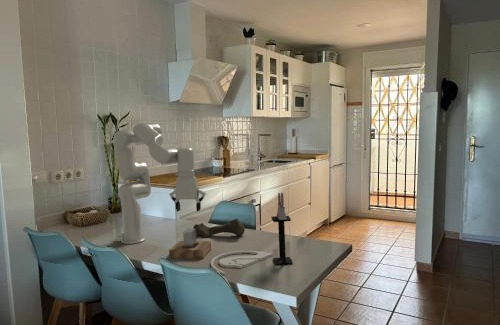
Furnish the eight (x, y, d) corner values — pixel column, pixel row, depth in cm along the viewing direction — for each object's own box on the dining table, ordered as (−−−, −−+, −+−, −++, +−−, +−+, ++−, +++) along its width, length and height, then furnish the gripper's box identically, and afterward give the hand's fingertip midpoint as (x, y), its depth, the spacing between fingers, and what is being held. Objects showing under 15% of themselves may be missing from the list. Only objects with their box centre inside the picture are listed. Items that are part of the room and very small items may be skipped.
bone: (189, 224, 217) (238, 219, 204) (200, 222, 226) (246, 216, 214) (192, 242, 216) (240, 238, 204) (202, 239, 226) (249, 234, 213)
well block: (169, 258, 180) (168, 249, 180) (179, 249, 194) (179, 241, 193) (203, 258, 177) (202, 250, 177) (211, 249, 191) (210, 241, 191)
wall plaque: (273, 253, 177) (223, 272, 156) (273, 257, 177) (223, 276, 156) (244, 246, 190) (194, 263, 169) (244, 249, 190) (194, 266, 169)
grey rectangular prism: (184, 253, 183) (183, 232, 182) (189, 249, 190) (187, 228, 189) (192, 253, 182) (191, 232, 181) (197, 249, 189) (195, 228, 188)
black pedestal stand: (272, 258, 173) (269, 191, 171) (289, 257, 174) (286, 190, 172) (275, 266, 163) (273, 195, 161) (293, 265, 164) (291, 194, 161)
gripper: (165, 176, 181) (167, 212, 182) (202, 175, 178) (203, 212, 179) (171, 174, 188) (173, 209, 190) (206, 173, 185) (208, 209, 187)
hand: (188, 210), depth 185 cm, fingers open, 9 cm apart
